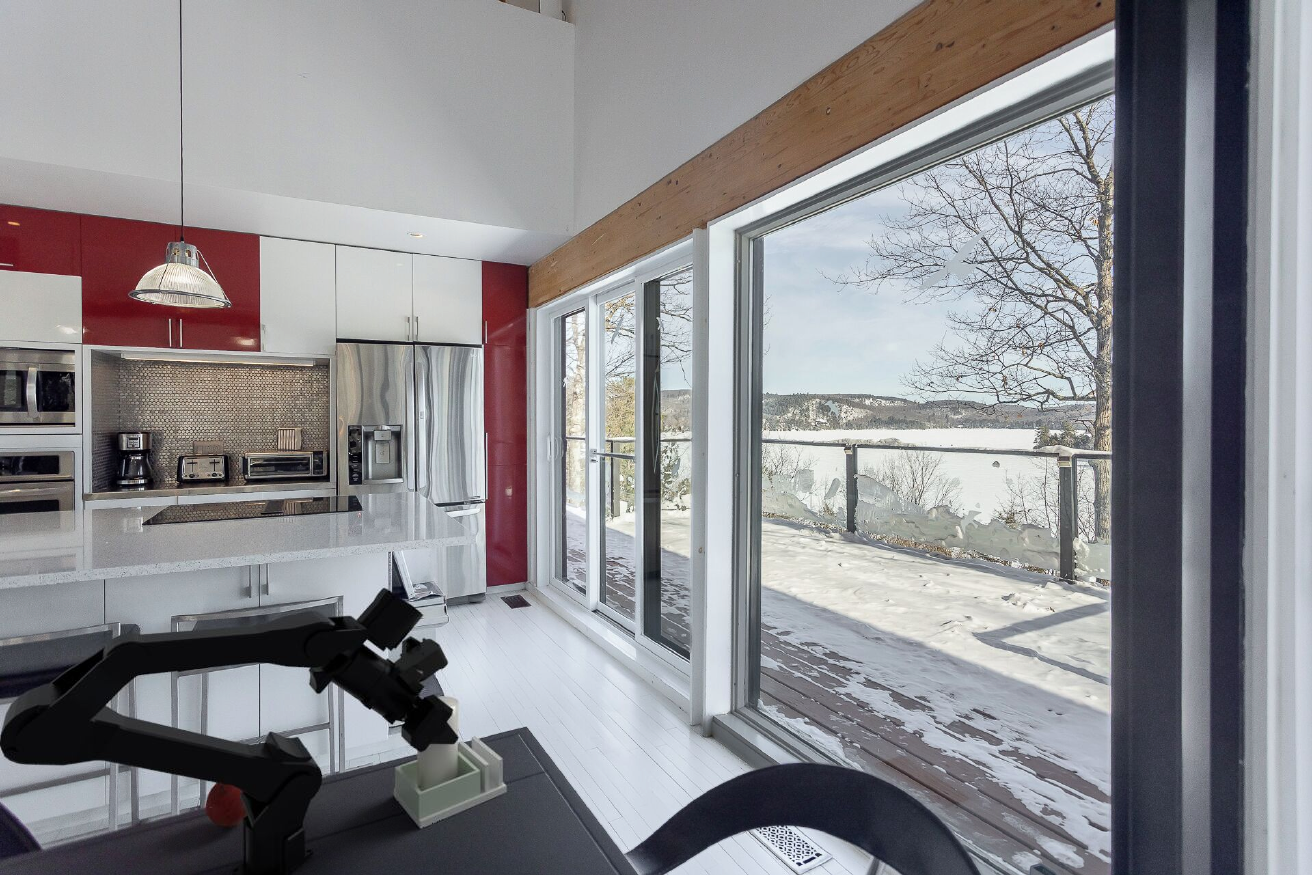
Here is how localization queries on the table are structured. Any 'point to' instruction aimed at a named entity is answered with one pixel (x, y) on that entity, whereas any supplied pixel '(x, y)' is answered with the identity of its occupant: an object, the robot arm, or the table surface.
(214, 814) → the red rounded egg shape
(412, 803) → the pale green holder box
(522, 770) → the table surface
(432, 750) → the off-white round-top cylinder
